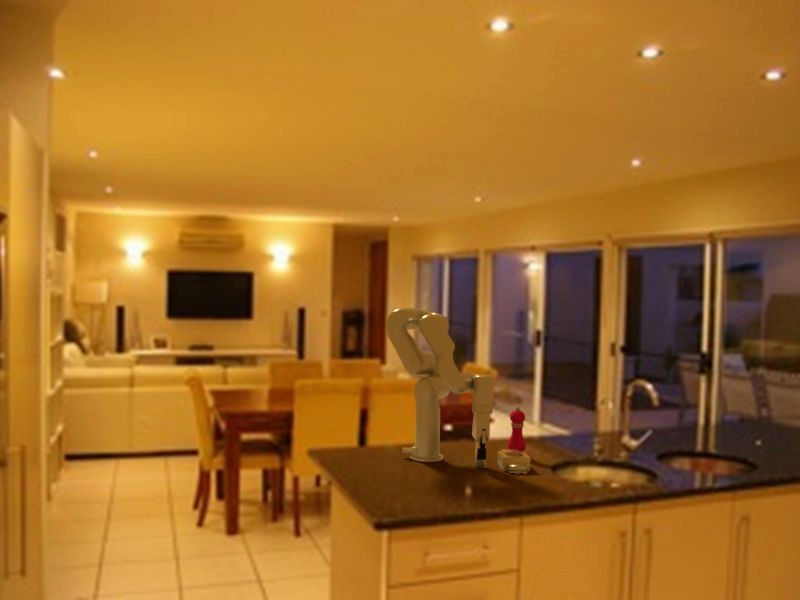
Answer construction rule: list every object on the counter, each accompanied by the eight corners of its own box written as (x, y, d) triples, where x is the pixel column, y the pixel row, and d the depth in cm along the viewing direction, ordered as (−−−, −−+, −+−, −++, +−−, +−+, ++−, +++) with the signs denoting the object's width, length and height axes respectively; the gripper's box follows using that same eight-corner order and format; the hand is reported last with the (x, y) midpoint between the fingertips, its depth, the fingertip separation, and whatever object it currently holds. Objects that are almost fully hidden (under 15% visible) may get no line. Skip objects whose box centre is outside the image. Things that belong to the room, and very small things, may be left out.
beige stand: (504, 473, 245) (505, 459, 245) (495, 462, 262) (496, 449, 262) (532, 474, 245) (532, 460, 245) (521, 462, 262) (521, 449, 262)
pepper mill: (525, 459, 267) (527, 408, 267) (506, 458, 268) (508, 407, 268) (525, 455, 274) (527, 405, 274) (507, 454, 276) (509, 404, 275)
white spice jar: (474, 468, 250) (475, 435, 250) (471, 464, 256) (473, 432, 255) (488, 468, 251) (489, 435, 251) (485, 464, 256) (487, 432, 256)
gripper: (468, 404, 261) (466, 452, 261) (475, 412, 244) (473, 463, 245) (488, 404, 261) (486, 452, 262) (496, 412, 245) (494, 464, 245)
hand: (480, 457), depth 253 cm, fingers closed on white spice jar, 4 cm apart
